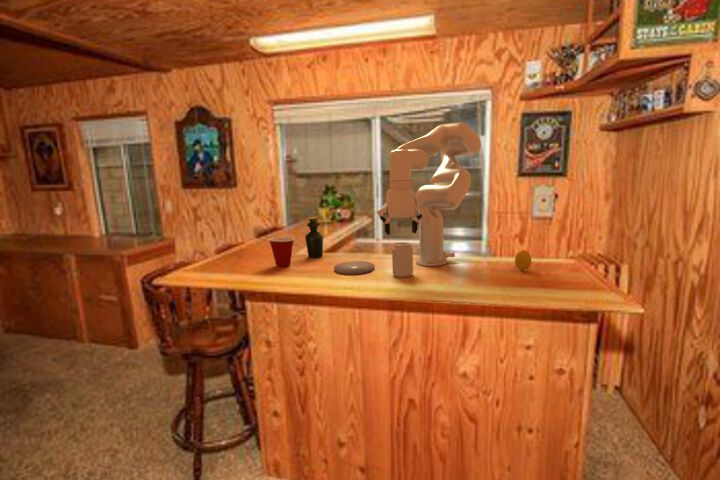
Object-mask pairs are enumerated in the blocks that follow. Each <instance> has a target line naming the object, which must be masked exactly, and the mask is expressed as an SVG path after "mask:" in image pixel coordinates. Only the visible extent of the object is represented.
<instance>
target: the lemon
mask: <svg viewBox="0 0 720 480" xmlns="http://www.w3.org/2000/svg"><path fill="white" fill-rule="evenodd" d="M514 264H515V267H516V268H517V269H518V270H520V271H521V272H524V271H526V270H528V269H529V268H530V267H531V265H532V256H531V254H530V252H528V251H526V250H525V249H522V250H520V251H518V252H517V253H516V255H515V258H514Z"/></svg>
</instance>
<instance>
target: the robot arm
mask: <svg viewBox="0 0 720 480" xmlns="http://www.w3.org/2000/svg"><path fill="white" fill-rule="evenodd" d="M481 148H482V141H481V138H480V136H479V135H478V134H477V132H476V131H474V130H473V128H471V127H470V126H469V125H468V124H467V123H465V122H453V123H443V124H440V125H438V126H436V127H435V128H434V129H432V130H431V131H430V132H428V133H427V134H426V135H423V136H421V137H419V138H416V139H414V140H411V141H409V142H407V143H403V144H401V145H400V146H398V147H397V148H396V149H394V150H391V151H390V152H389V189H387V191H386V200H385V201H386V202H385V206H384V207H382V208H381V209H379V210H377V211H376V214H377V215H378V218H379V219H380V220H381V221H382V223H384V232H385V234H386V235H388V236H389V235H391V224H390V222H391V220H392V219H402V218H403V219H405V218H406V219H407V218H410V219H411V220H412V222H411V233H413V234H417V231H418V227H419V233H418V234H419V235H418V236H419V257H418V258H416V260H415V262H416V264H417V265H419V266H425V267H439V266H443V265H447V264H448V258H455V256H456V253H455V252H450V251H444V218H443V215H442V213H441V212H440V210H442V211H445V210H446V211H447V210H448V211H451V210H453V211H454V210H456V209H457V208H458V207H459V206H460V204H461V203H462V201H463V200H464V198H465V197H466V195H467V193H468V192H469V190H470V187H471V182H472V177H471V174H470V171H468V170H467V169H465V168H462V167H461V164H460V162H459V160H458V159H457V158H456V157H466V156H474V155H475V156H476V155H477V154H479V152H480V150H481ZM439 153H440V157H441V158H440V159H441V163H440V165H439V166H438V168H437V169H436V171H435V172H434V174H433V175H432V177H431V179H430V184H425V185H422V186H421V187H419V188H418V189H417V191H416V195H415V192H414V188H413V187H414V186H416V181H412V172H417V171H422V170H424V169H425V168H427V167H428V164H429V162H430V158H431V157H435V156H436V155H438V154H439ZM415 196H416V199H415ZM416 211H418V214H416ZM383 213H385V215H386V217H384V215H383ZM418 224H419V225H418Z"/></svg>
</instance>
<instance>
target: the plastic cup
mask: <svg viewBox="0 0 720 480" xmlns="http://www.w3.org/2000/svg"><path fill="white" fill-rule="evenodd" d="M268 241H269V244H270V247H271V251H272V255H273V258H274V262H275V265H276V268H287V267H288V268H289V267H290V266H291V264H292V263H291V262H292V252H293V245H294V241H295V237H284V236H283V237H282V236H281V237H280V236H278V237H277V236H276V237H269V238H268Z"/></svg>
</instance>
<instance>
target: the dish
mask: <svg viewBox="0 0 720 480" xmlns="http://www.w3.org/2000/svg"><path fill="white" fill-rule="evenodd" d="M374 270H375V264H374V263H372V262H369V261H363V260H362V261H361V260H359V261H358V260H355V261H353V260H352V261H345V262H340V263H338V264H335V265H334V266H333V271H334V272H335V273H336V274H339V275H346V276H355V275H356V276H357V275H364V274H369V273H371V272H373V271H374Z"/></svg>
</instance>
